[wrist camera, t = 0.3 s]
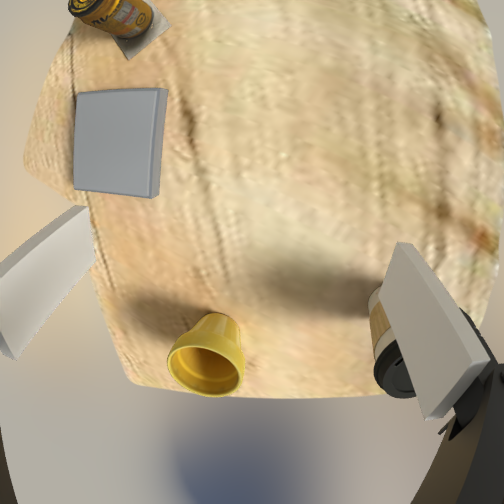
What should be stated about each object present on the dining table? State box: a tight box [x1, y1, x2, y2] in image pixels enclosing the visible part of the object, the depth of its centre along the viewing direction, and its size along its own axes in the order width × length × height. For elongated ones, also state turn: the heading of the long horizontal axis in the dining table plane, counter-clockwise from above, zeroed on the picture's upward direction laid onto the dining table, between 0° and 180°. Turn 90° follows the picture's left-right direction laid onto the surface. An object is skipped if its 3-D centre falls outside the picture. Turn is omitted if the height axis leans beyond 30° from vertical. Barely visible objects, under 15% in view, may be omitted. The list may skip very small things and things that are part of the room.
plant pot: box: [167, 313, 245, 397], centre depth 42 cm, size 10×10×10 cm
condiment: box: [68, 0, 172, 60], centre depth 24 cm, size 7×8×12 cm
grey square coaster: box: [74, 88, 168, 199], centre depth 35 cm, size 14×13×3 cm
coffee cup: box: [368, 286, 416, 398], centre depth 34 cm, size 10×10×15 cm
